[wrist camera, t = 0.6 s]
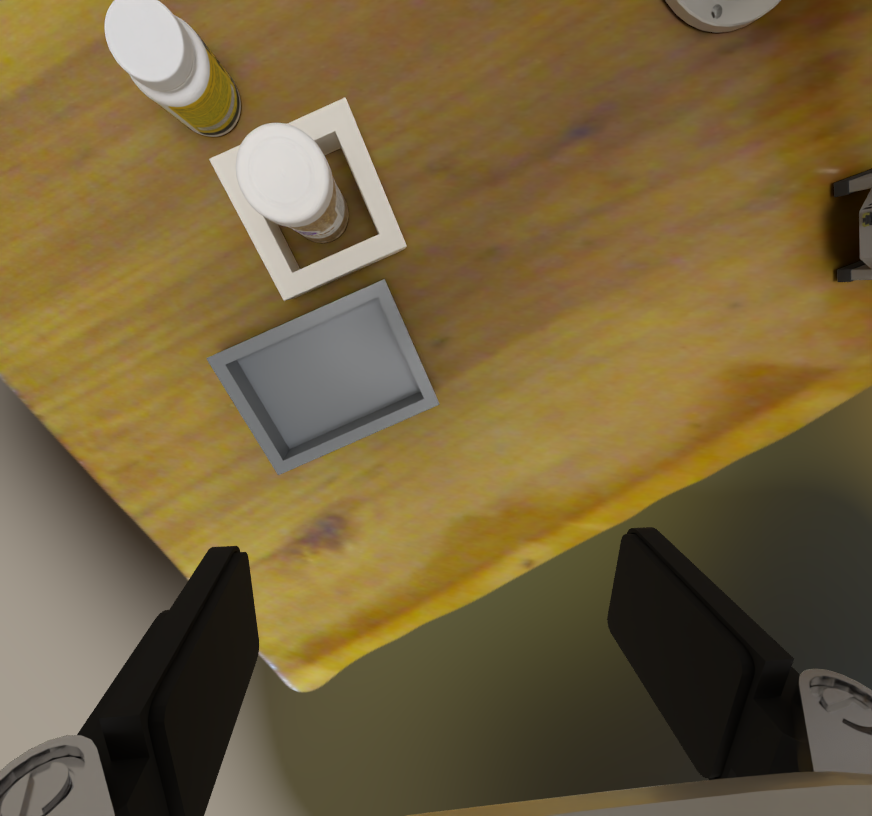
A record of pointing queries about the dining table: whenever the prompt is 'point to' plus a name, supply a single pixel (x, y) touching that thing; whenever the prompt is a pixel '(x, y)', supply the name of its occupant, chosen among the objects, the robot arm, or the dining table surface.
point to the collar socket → (340, 131)
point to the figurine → (868, 227)
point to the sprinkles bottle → (291, 182)
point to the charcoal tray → (326, 378)
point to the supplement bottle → (172, 65)
